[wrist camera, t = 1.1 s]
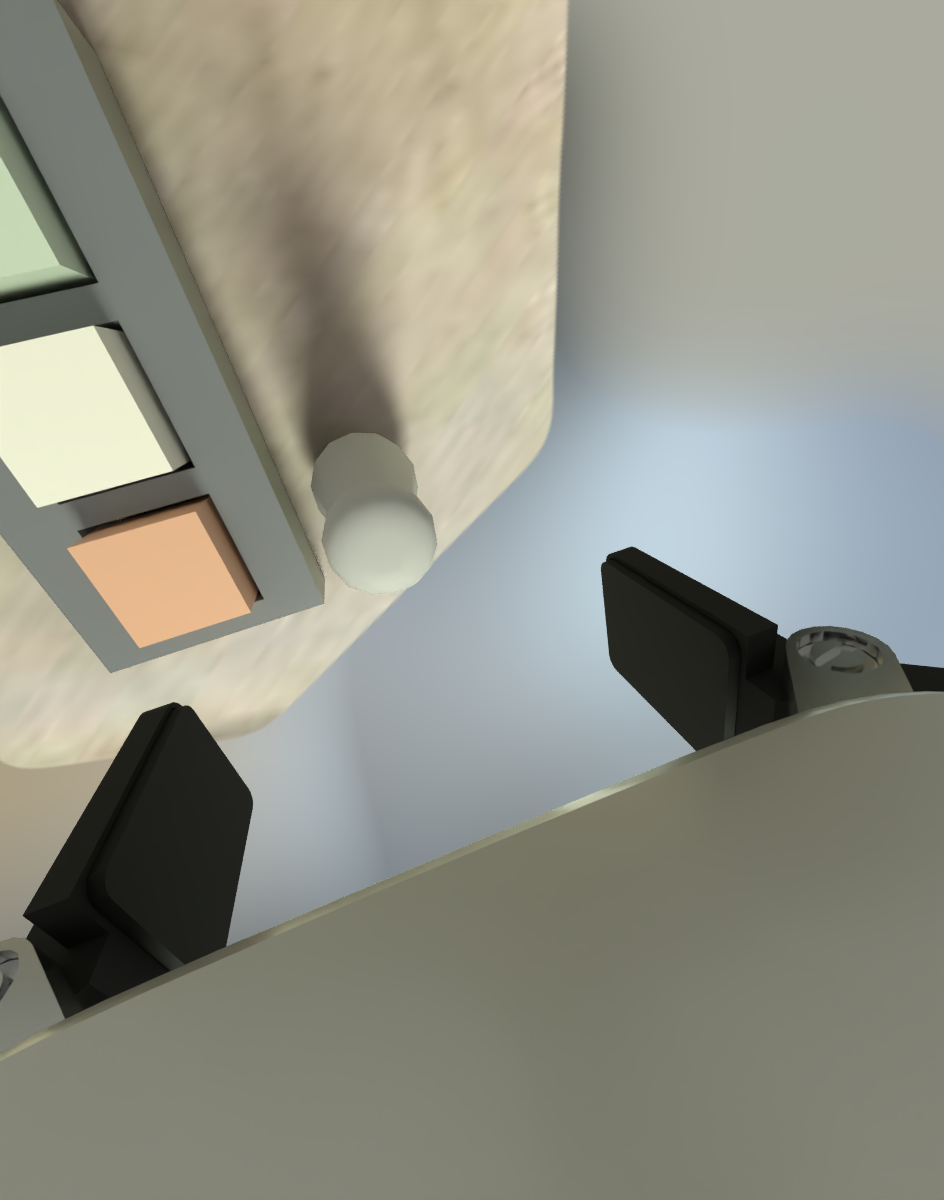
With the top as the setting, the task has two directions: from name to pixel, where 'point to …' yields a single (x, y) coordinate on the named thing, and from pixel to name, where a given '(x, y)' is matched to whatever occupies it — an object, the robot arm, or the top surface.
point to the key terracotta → (168, 570)
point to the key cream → (81, 416)
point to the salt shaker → (372, 514)
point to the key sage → (32, 227)
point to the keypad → (158, 336)
